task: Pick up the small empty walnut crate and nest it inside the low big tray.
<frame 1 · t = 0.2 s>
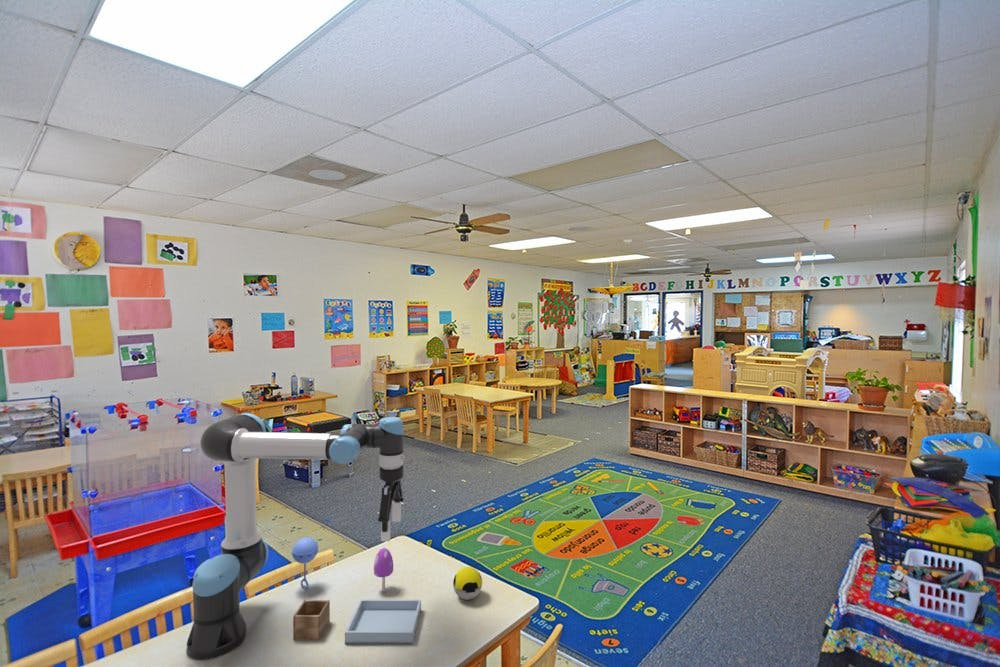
hand: (391, 530, 150), 27 cm above the table, fingers open, 13 cm apart
big tray: (385, 626, 145), on the table
baby rattle: (305, 589, 164), on the table
toy: (383, 590, 164), on the table
small crate: (312, 630, 142), on the table
toy 2: (467, 598, 160), on the table
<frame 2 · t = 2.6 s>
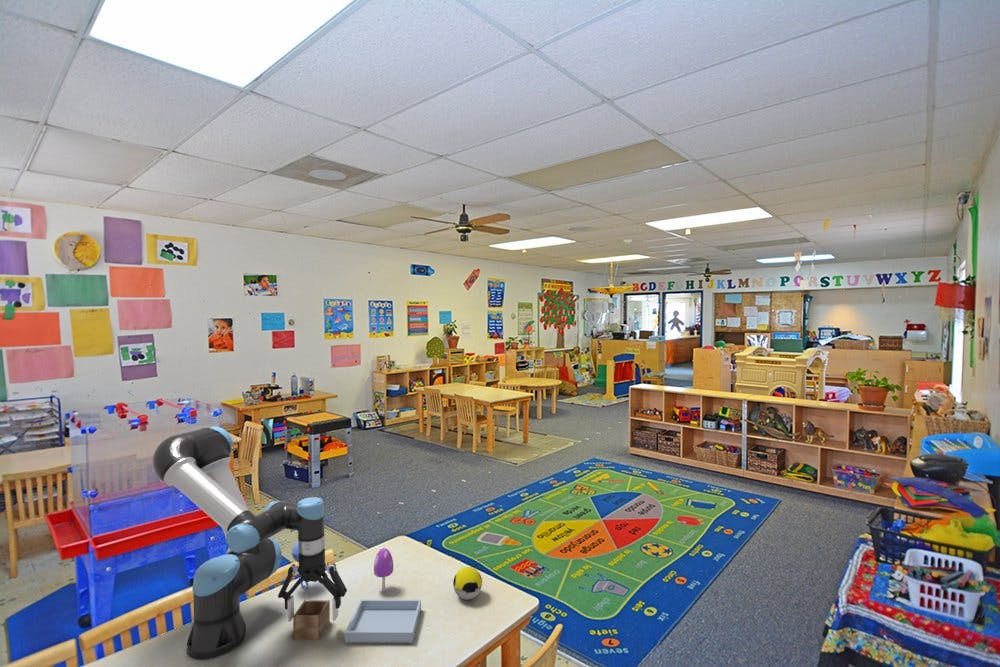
hand: (313, 618, 142), 4 cm above the table, fingers open, 13 cm apart
nothing on the table moved.
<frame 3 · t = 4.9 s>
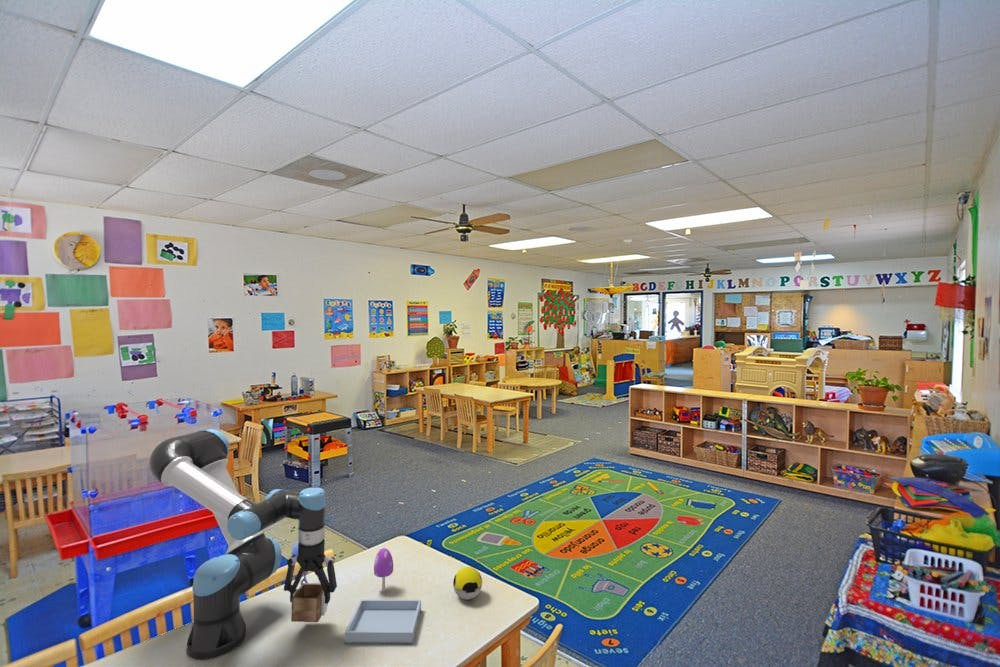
hand: (309, 612, 143), 6 cm above the table, fingers closed on small crate, 8 cm apart
small crate: (309, 613, 143), point 5 cm above the table, touching gripper
everything else where it was.
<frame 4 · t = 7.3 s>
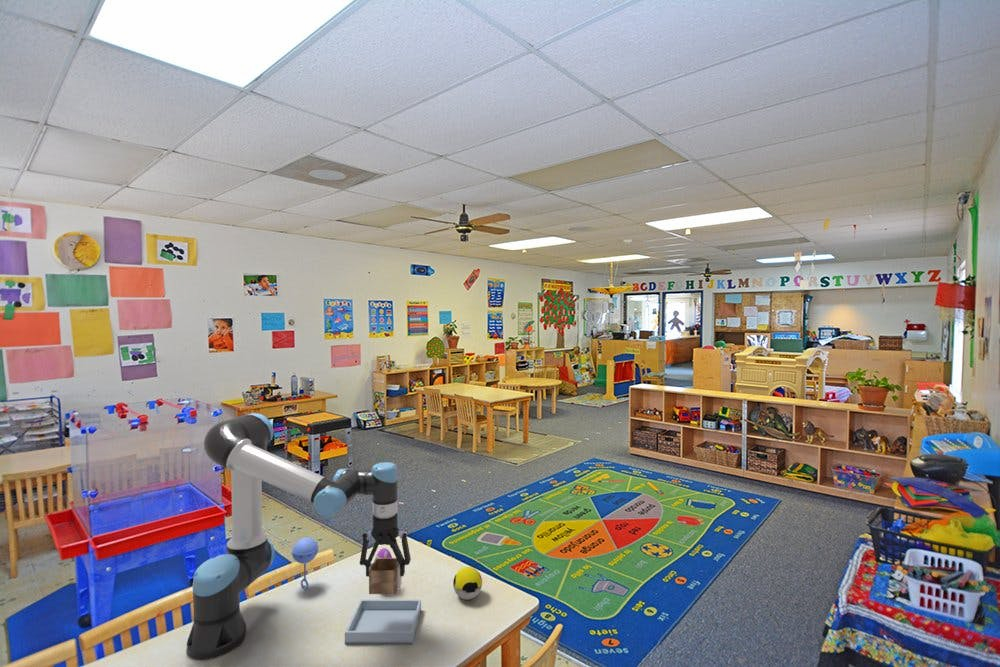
hand: (385, 585, 144), 13 cm above the table, fingers closed on small crate, 8 cm apart
small crate: (385, 586, 144), point 13 cm above the table, touching gripper
everything else where it was.
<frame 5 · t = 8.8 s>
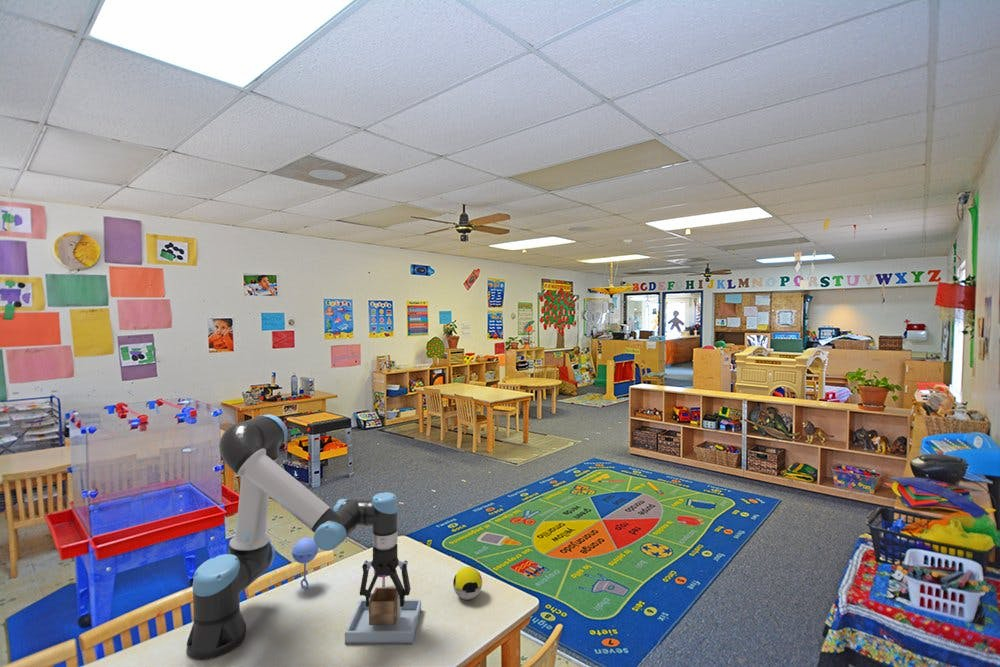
hand: (385, 615, 145), 3 cm above the table, fingers closed on small crate, 8 cm apart
small crate: (385, 616, 145), point 3 cm above the table, touching gripper
everything else where it was.
when the fingers open (3 cm above the table, at t = 9.8 s): small crate drops 2 cm, resting on big tray.
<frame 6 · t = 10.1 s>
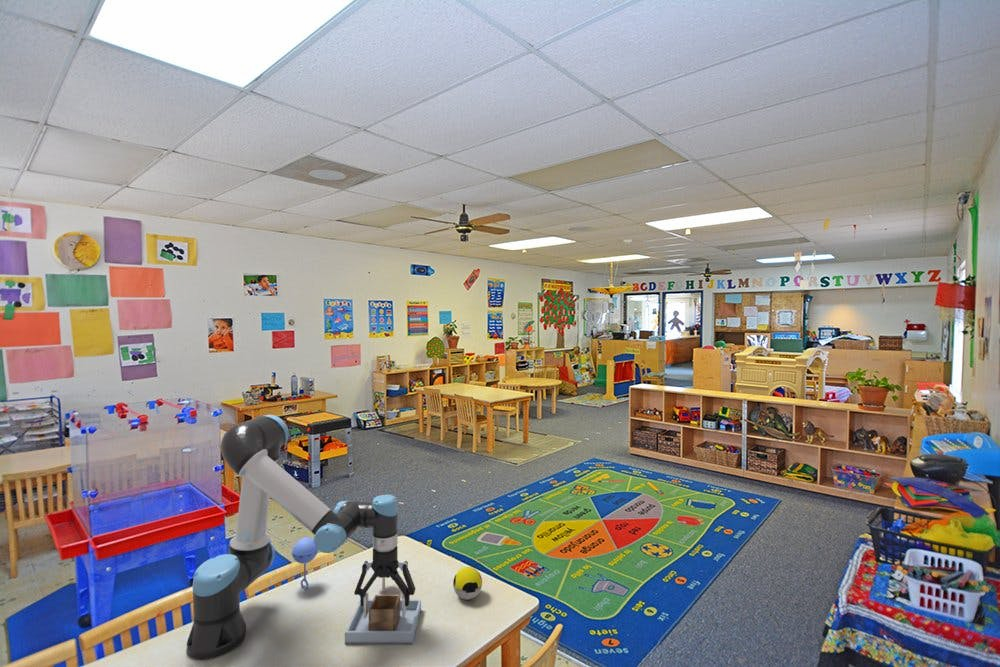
hand: (385, 615, 145), 3 cm above the table, fingers open, 11 cm apart
small crate: (384, 624, 145), point 1 cm above the table, touching big tray
everything else where it was.
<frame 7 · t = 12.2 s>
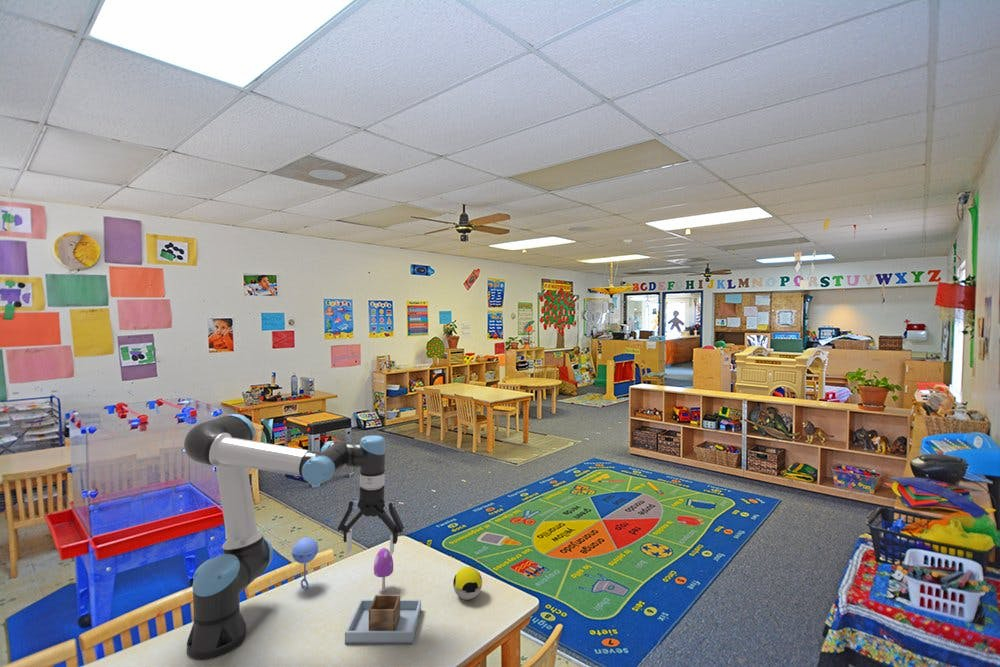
hand: (370, 552, 146), 22 cm above the table, fingers open, 13 cm apart
nothing on the table moved.
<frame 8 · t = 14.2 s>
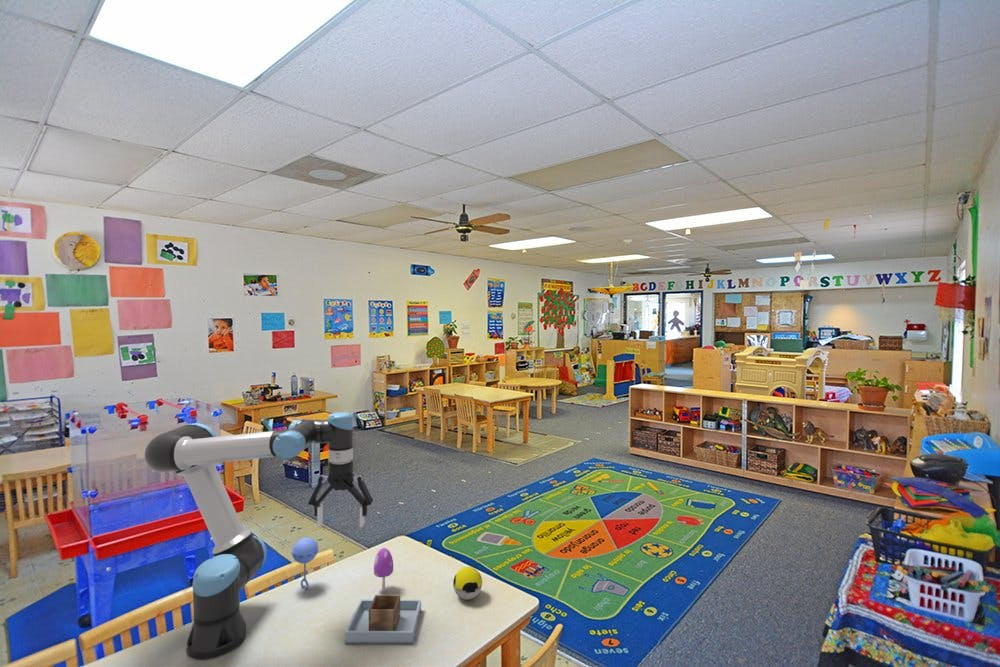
hand: (341, 525, 151), 29 cm above the table, fingers open, 13 cm apart
nothing on the table moved.
at the end: small crate inside the target area on the big tray (0.1 cm from its centre), point 0.6 cm above the big tray's base; small crate tilted 0°; the gripper is holding nothing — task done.
